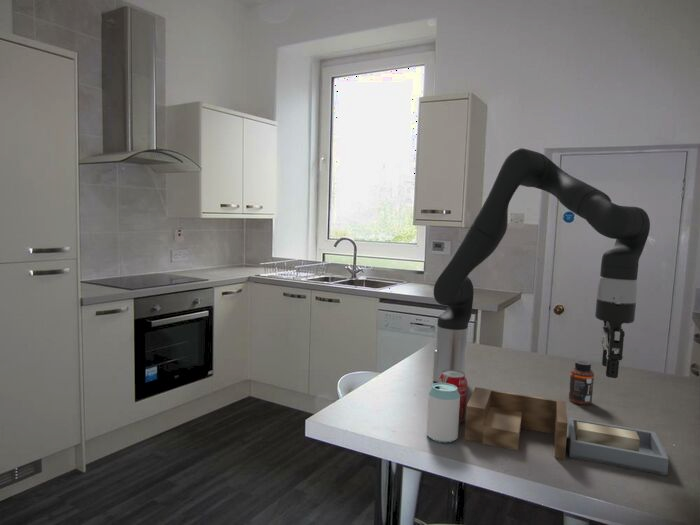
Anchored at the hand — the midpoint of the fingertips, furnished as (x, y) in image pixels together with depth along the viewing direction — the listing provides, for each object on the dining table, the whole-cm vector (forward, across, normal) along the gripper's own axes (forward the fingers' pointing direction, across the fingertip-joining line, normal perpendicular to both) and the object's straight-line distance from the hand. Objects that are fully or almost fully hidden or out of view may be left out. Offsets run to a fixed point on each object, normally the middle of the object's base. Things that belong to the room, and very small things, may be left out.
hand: (609, 371), depth 108 cm
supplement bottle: (+18, -31, -3) cm, 36 cm away
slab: (+17, 0, +1) cm, 17 cm away
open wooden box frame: (+18, +2, -18) cm, 26 cm away
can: (+18, +10, -34) cm, 40 cm away
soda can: (+18, -1, -34) cm, 38 cm away
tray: (+18, 0, +2) cm, 18 cm away
